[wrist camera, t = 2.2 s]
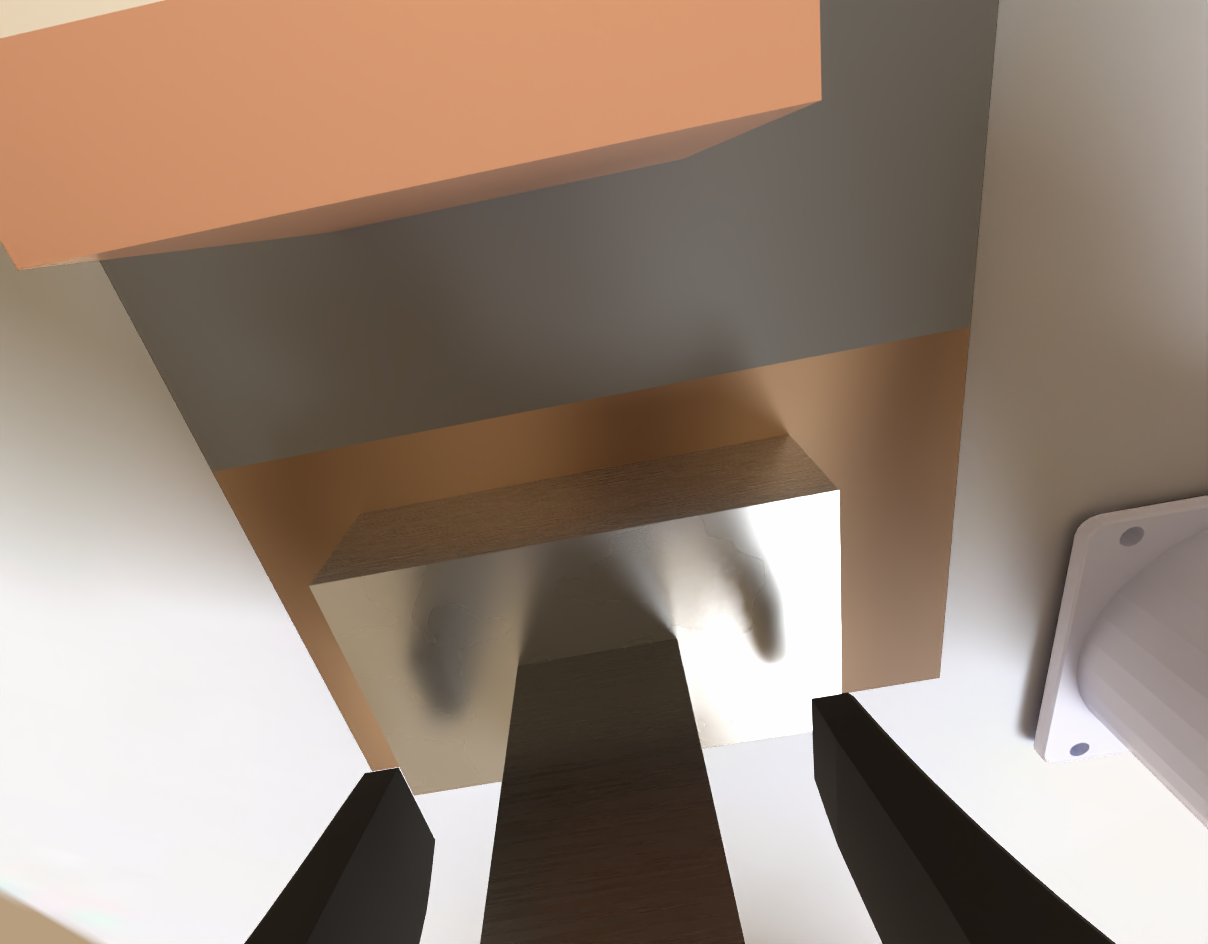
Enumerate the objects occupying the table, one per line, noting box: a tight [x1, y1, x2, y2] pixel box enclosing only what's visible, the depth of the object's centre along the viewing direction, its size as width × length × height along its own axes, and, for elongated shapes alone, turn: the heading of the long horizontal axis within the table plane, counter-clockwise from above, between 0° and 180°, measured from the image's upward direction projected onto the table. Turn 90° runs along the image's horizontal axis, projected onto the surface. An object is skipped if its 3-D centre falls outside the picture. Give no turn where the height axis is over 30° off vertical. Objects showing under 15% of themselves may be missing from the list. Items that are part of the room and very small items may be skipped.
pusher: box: [309, 434, 842, 944], centre depth 9 cm, size 9×6×8 cm, turn 101°
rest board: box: [213, 327, 970, 771], centre depth 13 cm, size 15×9×1 cm, turn 101°
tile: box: [0, 0, 822, 270], centre depth 7 cm, size 6×2×6 cm, turn 101°
